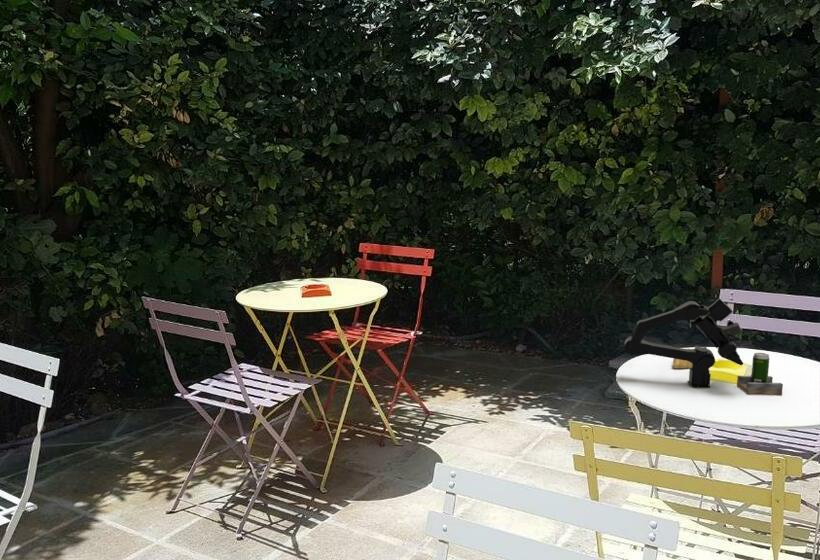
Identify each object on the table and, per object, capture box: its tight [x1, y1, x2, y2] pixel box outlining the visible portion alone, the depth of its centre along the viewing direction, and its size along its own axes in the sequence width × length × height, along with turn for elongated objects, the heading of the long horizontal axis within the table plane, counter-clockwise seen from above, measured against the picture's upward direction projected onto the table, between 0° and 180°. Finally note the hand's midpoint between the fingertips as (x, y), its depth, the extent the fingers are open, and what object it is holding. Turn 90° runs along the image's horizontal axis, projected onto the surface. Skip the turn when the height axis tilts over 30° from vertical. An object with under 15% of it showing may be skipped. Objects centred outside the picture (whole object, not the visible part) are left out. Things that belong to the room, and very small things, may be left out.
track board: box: [736, 375, 784, 396], centre depth 264 cm, size 12×10×4 cm
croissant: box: [672, 358, 692, 369], centre depth 297 cm, size 21×10×8 cm, turn 135°
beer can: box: [750, 352, 770, 383], centre depth 263 cm, size 5×5×12 cm
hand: (740, 361), depth 265 cm, fingers open, 9 cm apart
